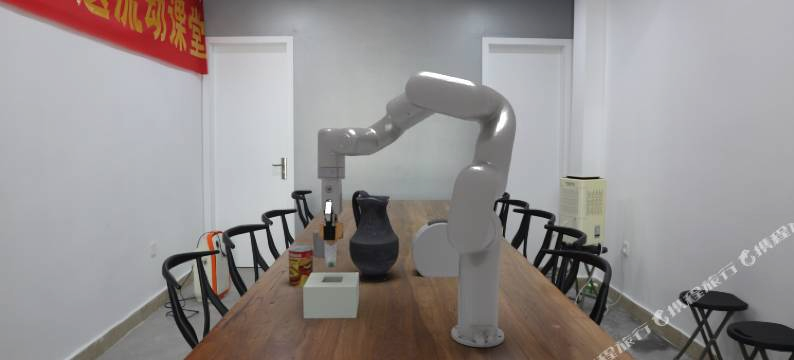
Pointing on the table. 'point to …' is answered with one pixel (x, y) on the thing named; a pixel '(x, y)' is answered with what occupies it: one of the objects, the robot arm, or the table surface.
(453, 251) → the alarm clock
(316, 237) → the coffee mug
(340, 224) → the pin
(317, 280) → the hole block
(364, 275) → the pitcher
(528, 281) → the table surface
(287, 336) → the table surface
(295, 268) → the canned food
